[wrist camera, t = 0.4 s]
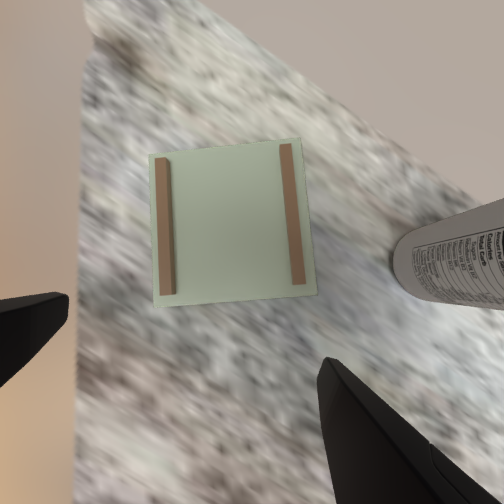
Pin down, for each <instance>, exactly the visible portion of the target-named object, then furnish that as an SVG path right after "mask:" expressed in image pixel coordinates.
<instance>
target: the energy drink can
mask: <svg viewBox="0 0 504 504" xmlns="http://www.w3.org/2000/svg"><path fill="white" fill-rule="evenodd" d="M393 268H394V272H395V275H396V277H397V279H398V281H399V283H400V284H401V285H402V287H403V288H404V289H405V290H406V291H408V292H409V293H410V294H412V295H413V296H415V297H417V298H419V299H422V300H426V301H431V302H439V303H447V304H455V305H463V306H471V307H480V308H488V309H496V310H504V198H503V199H500V200H497V201H495V202H492V203H489V204H486V205H483V206H480V207H478V208H475V209H472V210H469V211H466V212H463V213H461V214H458V215H455V216H452V217H449V218H446V219H444V220H441V221H438V222H435V223H432V224H430V225H427V226H424V227H421V228H418V229H416V230H413V231H411V232H409V233H408V234H406V235H405V236H404V237H403V238H402V239H401V240H400V241H399V243H398V245H397V246H396V249H395V252H394V256H393Z"/></svg>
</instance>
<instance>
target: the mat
mask: <svg viewBox="0 0 504 504" xmlns="http://www.w3.org/2000/svg"><path fill="white" fill-rule="evenodd" d="M149 184H150V214H151V243H152V273H153V303H154V308H159V307H172V306H185V305H197V304H210V303H223V302H236V301H249V300H262V299H274V298H287V297H300V296H313V295H318V292H317V283H316V274H315V265H314V256H313V247H312V238H311V229H310V220H309V211H308V202H307V193H306V184H305V175H304V166H303V157H302V148H301V139H300V138H291V139H282V140H273V141H264V142H255V143H246V144H238V145H229V146H220V147H211V148H202V149H193V150H184V151H175V152H166V153H157V154H149Z"/></svg>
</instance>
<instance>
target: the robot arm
mask: <svg viewBox="0 0 504 504" xmlns="http://www.w3.org/2000/svg"><path fill="white" fill-rule="evenodd" d="M68 308H69V297H68V295H66V294H63V293H59V292H50V293H43V294H36V295H29V296H23V297H16V298H9V299H3V300H0V387H2V386H3V385H4V384H5V383H6V382H7V381H8V380H9V379H10V378H12V377H13V376H14V375H15V374H16V373H17V372H18V371H19V370H21V369H22V367H24V366H25V365H26V364H27V363H28V362H29V361H30V360H31V359H32V358H33V357H34V356H35V355H36V354H37V353H38V352H39V351H40V350H41V348H42V347H43V346H44V345H45V344H46V343H47V342H48V341H49V340H50V339H51V338H52V337H53V336H54V334H55V333H56V332H57V331H58V330H59V329H60V328H61V327H62V326H63V325H64V323H65V322H66V320H67V317H68ZM317 391H318V401H319V411H320V421H321V429H322V434H323V440H324V445H325V449H326V454H327V459H328V464H329V469H330V474H331V479H332V484H333V489H334V494H335V499H336V503H337V504H502V503H501V502H499V501H498V500H497V499H496V498H495V497H493V496H492V495H491V494H490V493H489V492H487V491H486V490H485V489H484V488H483V487H481V486H480V485H479V484H478V483H477V482H475V481H474V480H473V479H472V478H471V477H469V476H468V475H467V474H466V473H465V472H464V471H462V470H461V469H460V468H459V467H458V466H457V465H455V464H454V463H453V462H452V461H451V460H450V459H449V458H447V457H446V456H445V455H444V454H443V453H442V452H441V451H440V450H438V449H437V448H436V447H435V446H434V445H433V444H430V442H429V441H428V440H427V439H426V438H425V437H424V436H423V435H422V434H420V433H419V432H418V431H417V430H416V429H415V428H414V427H413V426H412V425H410V424H409V423H408V422H407V421H406V420H405V419H404V418H403V417H401V416H400V415H399V414H398V413H397V412H396V411H395V410H394V409H392V408H391V407H390V406H389V405H388V404H387V403H386V402H385V401H383V400H382V399H381V398H380V397H379V396H378V395H377V394H376V393H375V392H373V391H372V390H371V389H370V388H369V387H368V386H367V385H366V384H364V383H363V382H362V381H361V380H360V379H359V378H358V377H357V376H355V375H354V374H353V373H352V372H351V371H350V370H349V369H348V368H347V367H345V366H344V365H343V364H342V363H341V362H340V361H339V360H337V359H334V358H330V357H326V358H325V359H324V360H323V363H322V365H321V368H320V371H319V374H318V376H317Z"/></svg>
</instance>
